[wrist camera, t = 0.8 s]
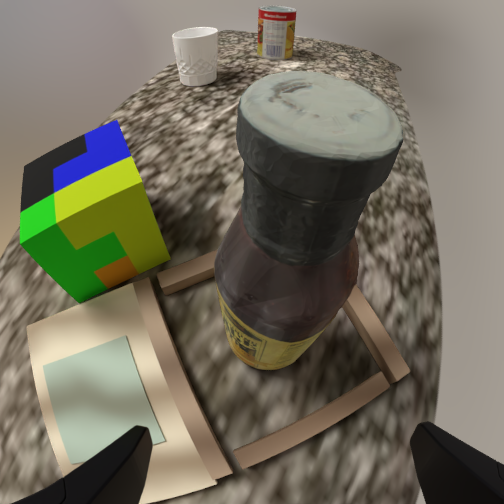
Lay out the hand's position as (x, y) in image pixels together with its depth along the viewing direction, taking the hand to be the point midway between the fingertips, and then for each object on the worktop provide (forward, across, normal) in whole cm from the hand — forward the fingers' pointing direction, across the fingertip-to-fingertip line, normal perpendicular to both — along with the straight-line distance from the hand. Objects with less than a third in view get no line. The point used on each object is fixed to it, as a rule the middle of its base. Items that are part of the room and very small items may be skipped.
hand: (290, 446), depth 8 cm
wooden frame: (+13, +5, +6) cm, 15 cm away
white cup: (+47, +13, -28) cm, 56 cm away
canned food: (+58, -2, -39) cm, 70 cm away
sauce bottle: (+15, 0, +4) cm, 16 cm away
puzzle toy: (+21, +16, -2) cm, 26 cm away
